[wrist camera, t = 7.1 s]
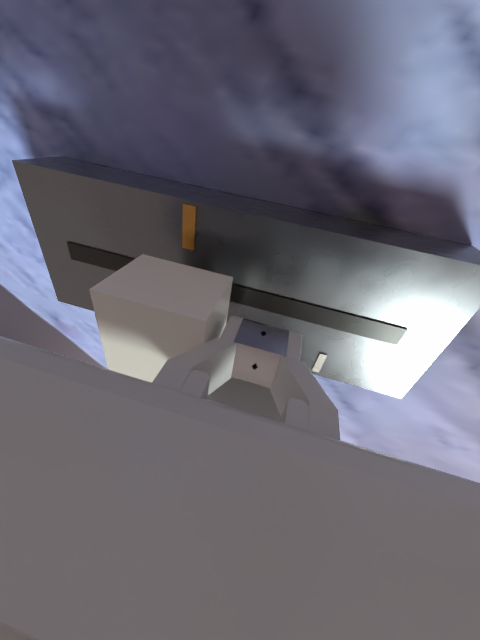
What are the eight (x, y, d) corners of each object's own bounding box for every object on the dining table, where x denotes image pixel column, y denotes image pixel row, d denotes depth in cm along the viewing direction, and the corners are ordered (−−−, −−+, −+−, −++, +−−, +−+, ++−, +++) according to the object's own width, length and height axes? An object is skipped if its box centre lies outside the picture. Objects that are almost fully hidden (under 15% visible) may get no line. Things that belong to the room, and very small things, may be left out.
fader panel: (61, 156, 15) (9, 160, 12) (472, 245, 12) (511, 272, 10) (90, 280, 19) (57, 301, 17) (389, 362, 17) (401, 400, 15)
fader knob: (163, 240, 12) (89, 289, 8) (243, 260, 12) (205, 321, 8) (165, 308, 15) (108, 371, 11) (232, 327, 14) (198, 399, 10)
